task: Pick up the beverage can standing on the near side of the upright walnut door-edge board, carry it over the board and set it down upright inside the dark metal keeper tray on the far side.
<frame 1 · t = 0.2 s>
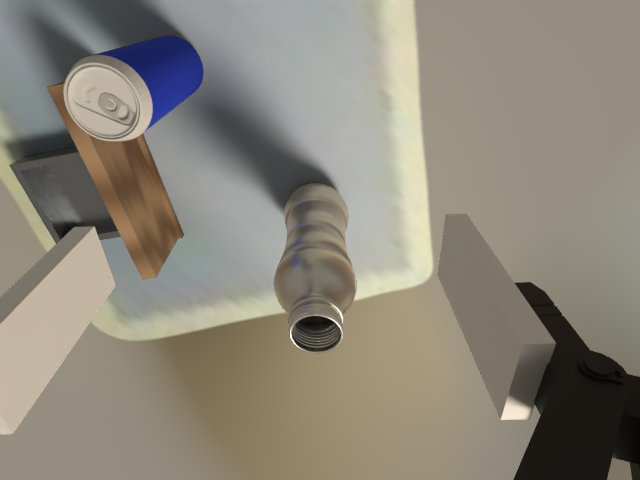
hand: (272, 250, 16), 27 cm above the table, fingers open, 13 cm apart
plastic bottle: (316, 203, 45), on the table
beverage can: (176, 66, 38), on the table
keeper tray: (89, 190, 44), on the table
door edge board: (142, 161, 42), on the table
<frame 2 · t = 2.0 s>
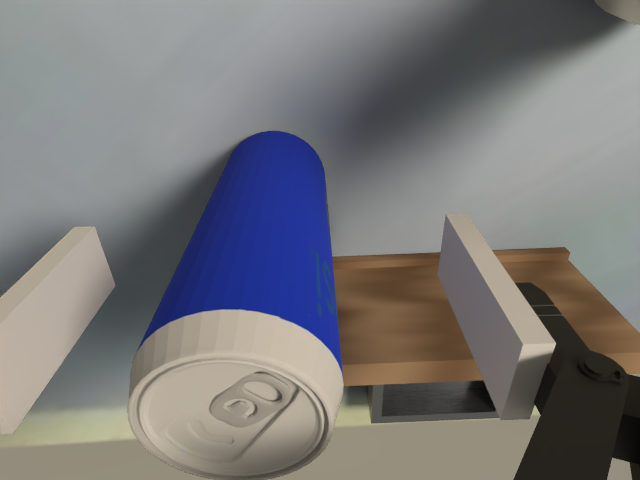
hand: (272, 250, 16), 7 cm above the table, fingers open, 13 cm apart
beverage can: (276, 173, 22), on the table
keeper tray: (435, 346, 29), on the table
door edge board: (414, 269, 26), on the table
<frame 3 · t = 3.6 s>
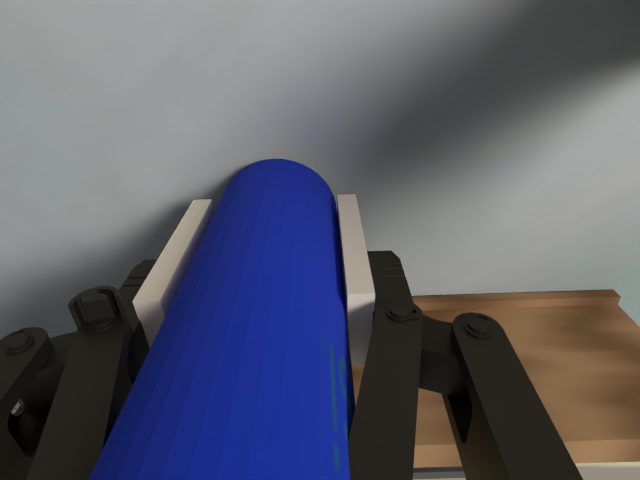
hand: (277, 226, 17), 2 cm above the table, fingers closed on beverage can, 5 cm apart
beverage can: (280, 206, 19), on the table, touching gripper
keeper tray: (458, 394, 26), on the table
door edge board: (438, 312, 22), on the table
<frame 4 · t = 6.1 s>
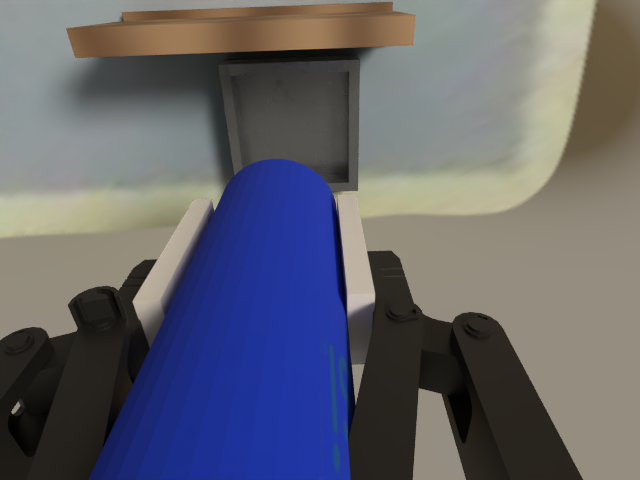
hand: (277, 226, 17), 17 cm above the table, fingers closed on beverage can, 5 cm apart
beverage can: (280, 205, 19), point 15 cm above the table, touching gripper
keeper tray: (294, 123, 32), on the table
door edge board: (259, 27, 28), on the table
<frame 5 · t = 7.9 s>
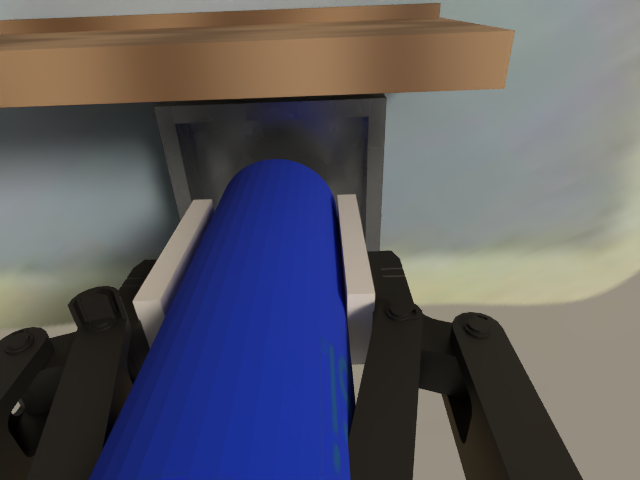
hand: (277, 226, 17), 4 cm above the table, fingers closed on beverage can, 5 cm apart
beverage can: (280, 206, 19), point 2 cm above the table, touching gripper
keeper tray: (283, 185, 21), on the table
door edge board: (224, 43, 18), on the table
when the fingers open (4 cm above the table, at t = 8.7 s): beverage can drops 1 cm, resting on keeper tray.
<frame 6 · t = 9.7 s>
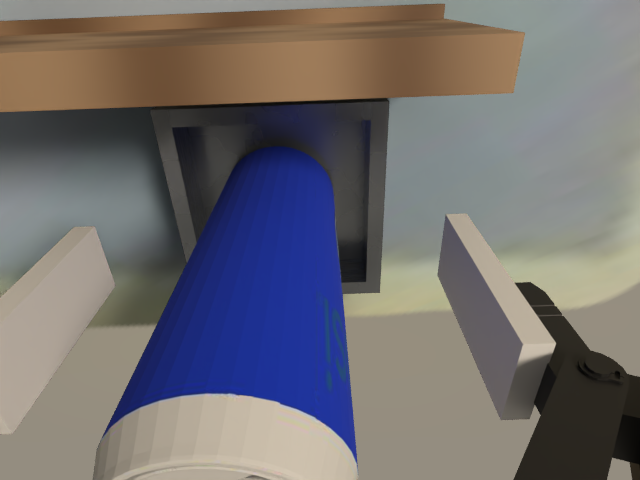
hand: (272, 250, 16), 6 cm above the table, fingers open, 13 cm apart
beverage can: (281, 191, 20), resting on keeper tray
keeper tray: (283, 190, 21), on the table
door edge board: (222, 45, 17), on the table
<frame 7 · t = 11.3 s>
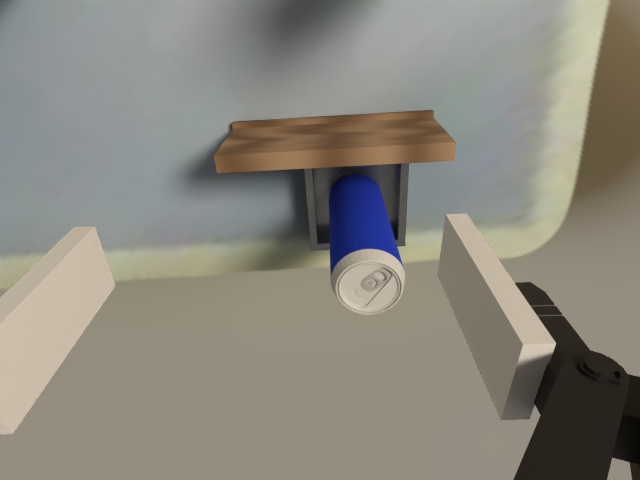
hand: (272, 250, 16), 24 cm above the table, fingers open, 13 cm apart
beverage can: (354, 195, 41), resting on keeper tray
keeper tray: (355, 194, 41), on the table
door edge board: (332, 129, 38), on the table
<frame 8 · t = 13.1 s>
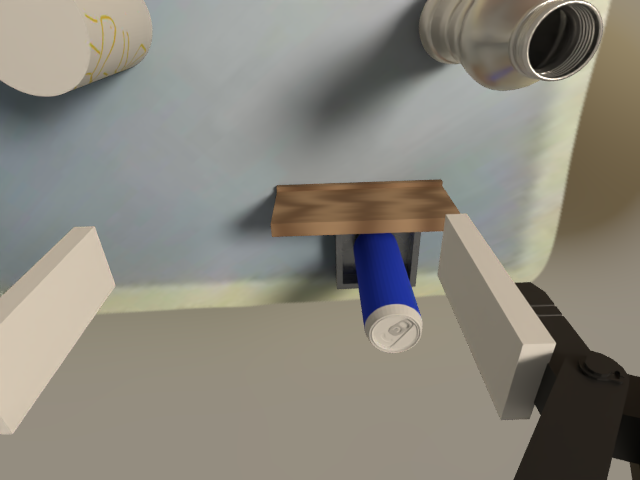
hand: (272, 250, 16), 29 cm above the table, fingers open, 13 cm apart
plastic bottle: (449, 20, 37), on the table
beverage can: (374, 244, 49), resting on keeper tray
keeper tray: (374, 243, 49), on the table
cup: (107, 21, 37), on the table
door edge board: (358, 192, 46), on the table
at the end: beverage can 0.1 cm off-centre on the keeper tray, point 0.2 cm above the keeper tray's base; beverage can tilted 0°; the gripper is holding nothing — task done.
